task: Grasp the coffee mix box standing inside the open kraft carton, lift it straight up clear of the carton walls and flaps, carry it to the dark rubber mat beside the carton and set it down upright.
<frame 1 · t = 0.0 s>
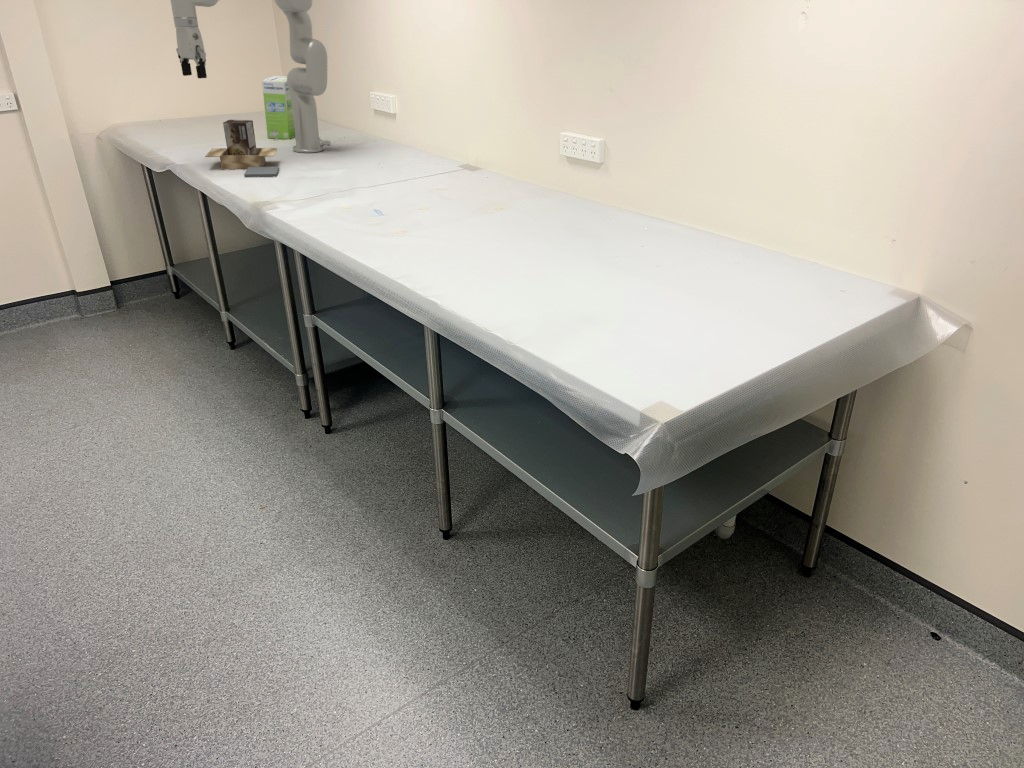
hand: (194, 76, 264), 31 cm above the table, tool pointing down, fingers open, 9 cm apart
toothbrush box: (285, 136, 335), on the table
mat: (262, 173, 272), on the table
carton: (244, 165, 281), on the table
coffee box: (244, 166, 282), resting in carton
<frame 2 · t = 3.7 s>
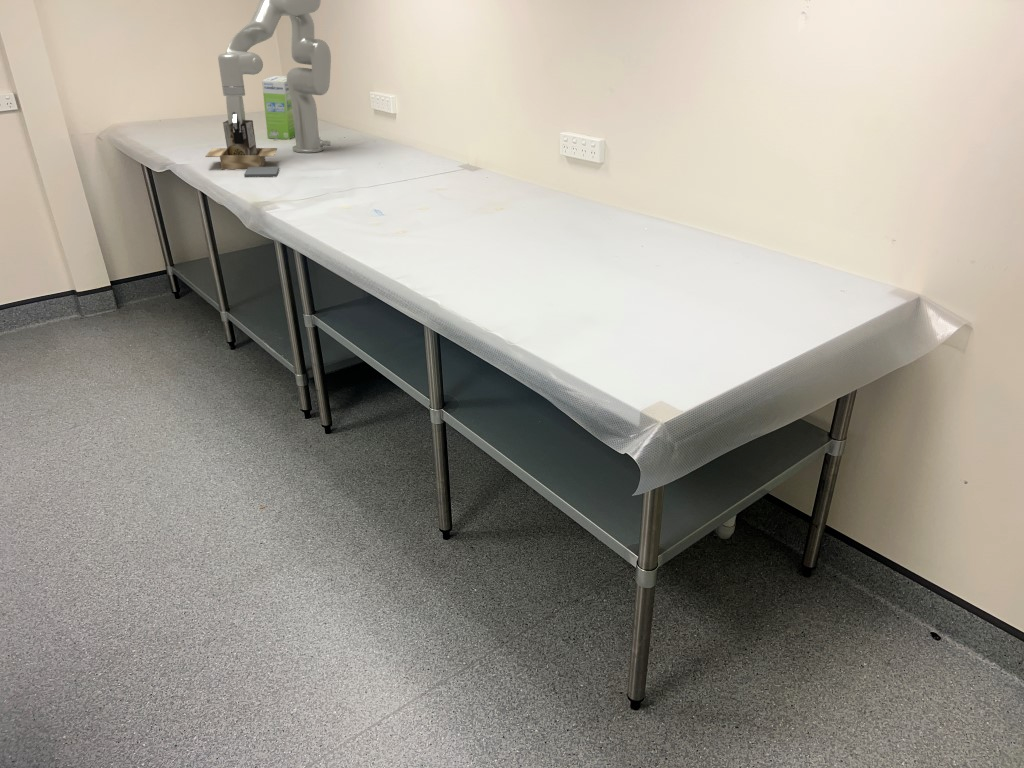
hand: (240, 141, 277), 9 cm above the table, tool pointing down, fingers closed on coffee box, 7 cm apart
coffee box: (244, 166, 282), resting in carton, touching gripper
everything else where it was.
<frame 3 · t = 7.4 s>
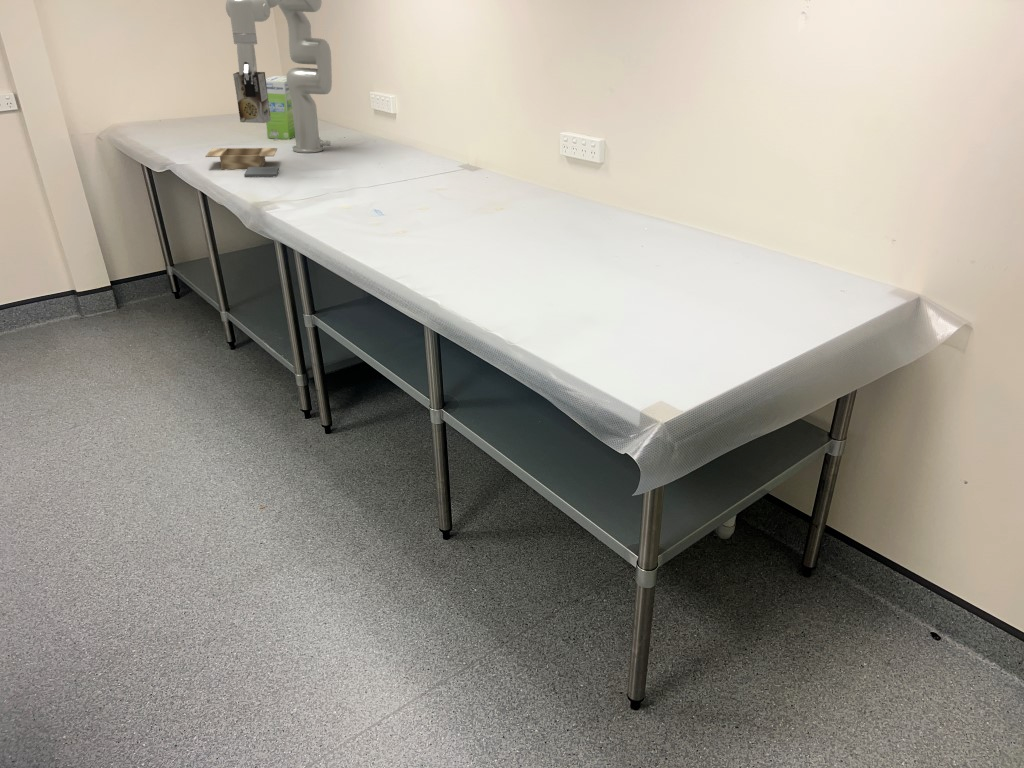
hand: (252, 94, 259), 27 cm above the table, tool pointing down, fingers closed on coffee box, 7 cm apart
coffee box: (255, 122, 263), point 18 cm above the table, touching gripper
everything else where it was.
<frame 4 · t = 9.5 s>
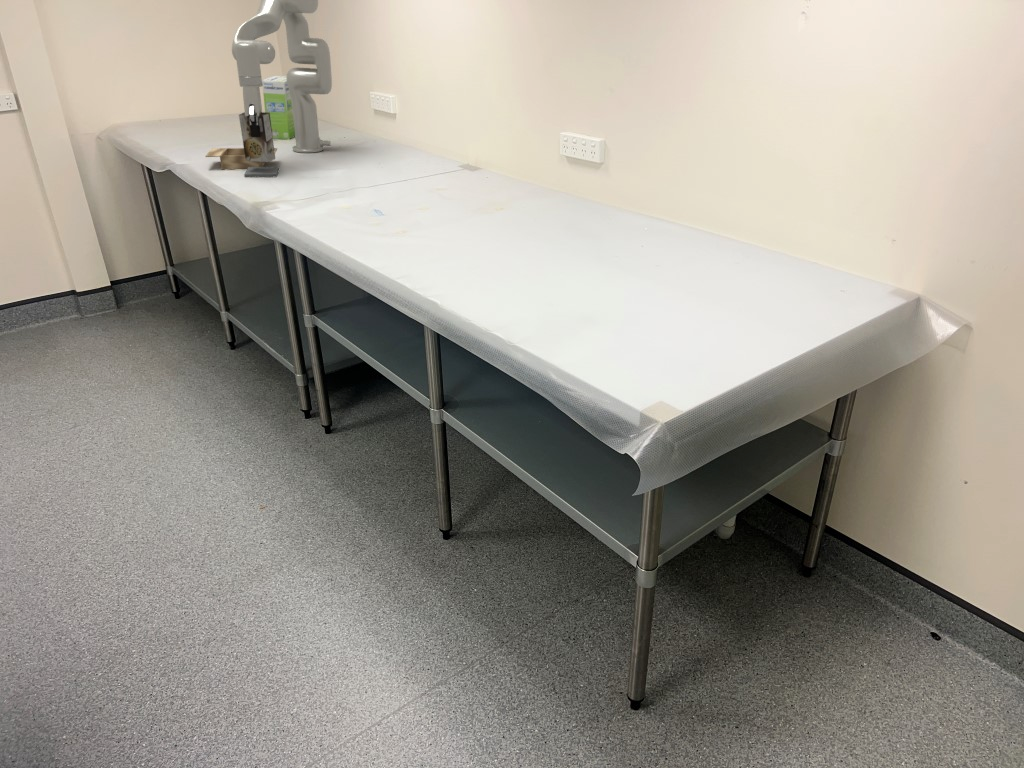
hand: (257, 134, 265), 14 cm above the table, tool pointing down, fingers closed on coffee box, 7 cm apart
coffee box: (260, 160, 269), point 5 cm above the table, touching gripper
everything else where it was.
when the fingers open (10 cm above the table, at t = 11.3 s): coffee box stays where it is, resting on mat.
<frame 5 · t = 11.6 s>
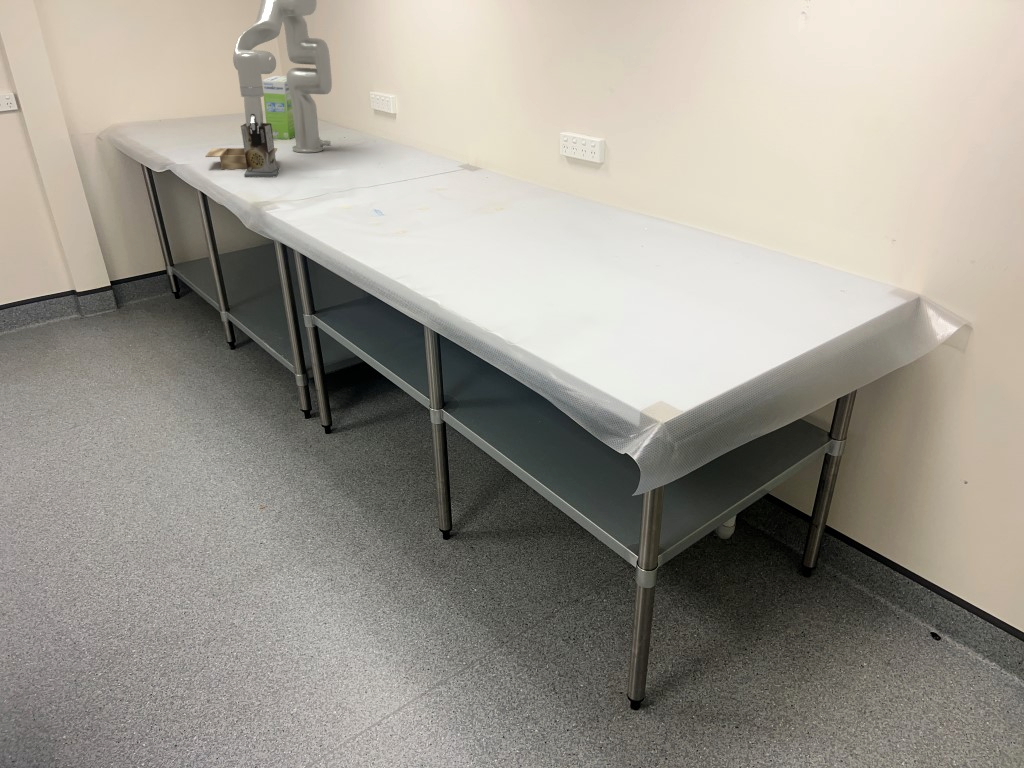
hand: (258, 142, 266), 11 cm above the table, tool pointing down, fingers open, 9 cm apart
coffee box: (262, 170, 271), point 1 cm above the table, touching mat
everything else where it was.
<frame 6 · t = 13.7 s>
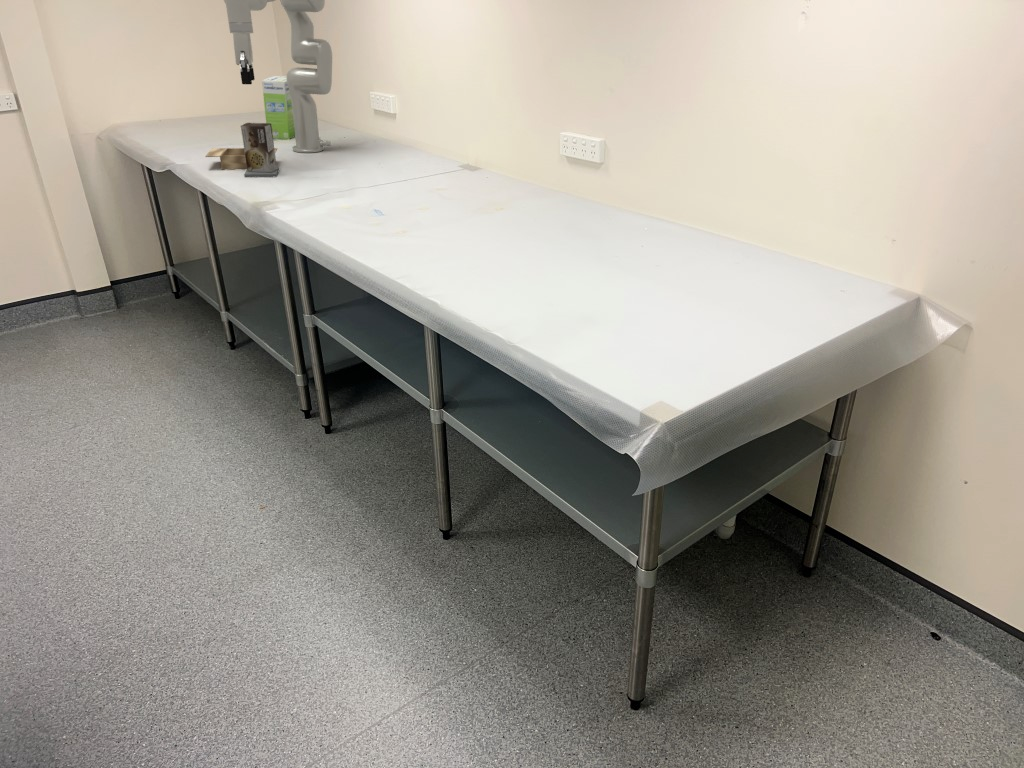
hand: (248, 82, 260), 31 cm above the table, tool pointing down, fingers open, 9 cm apart
nothing on the table moved.
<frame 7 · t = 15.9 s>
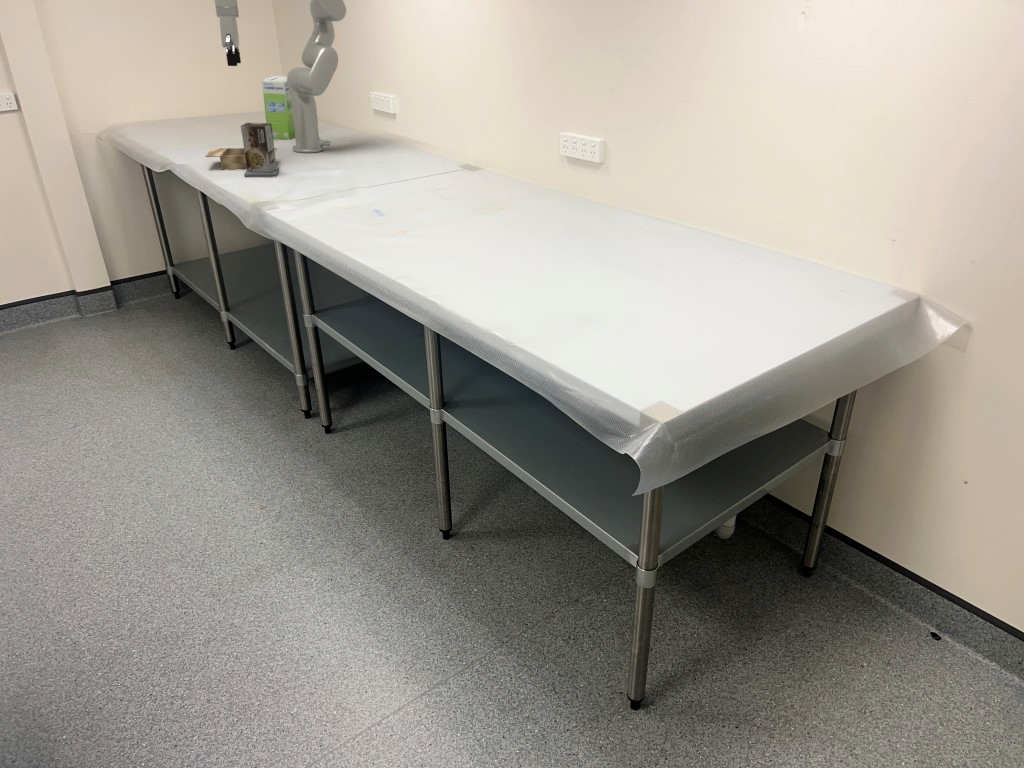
hand: (234, 64, 274), 34 cm above the table, tool pointing down, fingers open, 9 cm apart
nothing on the table moved.
at the end: coffee box inside the target area on the mat (0.2 cm from its centre), point 0.8 cm above the mat's base; coffee box tilted 0°; the gripper is holding nothing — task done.
